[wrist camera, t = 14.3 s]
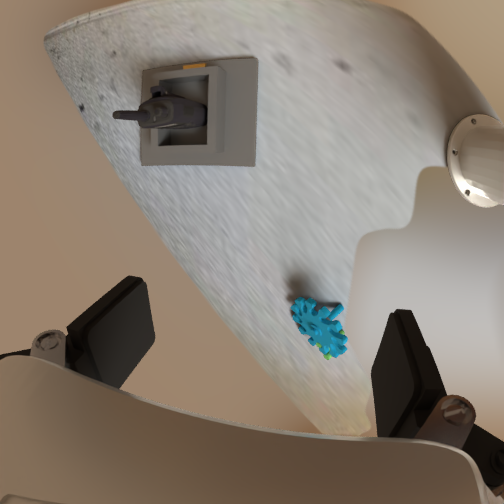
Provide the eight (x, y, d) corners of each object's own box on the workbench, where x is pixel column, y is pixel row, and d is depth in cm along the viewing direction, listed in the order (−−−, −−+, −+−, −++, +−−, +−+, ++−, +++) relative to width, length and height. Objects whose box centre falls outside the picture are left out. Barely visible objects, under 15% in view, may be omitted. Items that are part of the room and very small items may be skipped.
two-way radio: (174, 131, 36) (101, 133, 22) (172, 99, 34) (99, 87, 20) (214, 126, 34) (152, 122, 21) (212, 93, 33) (150, 71, 19)
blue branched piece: (279, 293, 40) (333, 318, 32) (309, 270, 43) (364, 288, 34) (299, 347, 45) (346, 375, 37) (324, 324, 47) (372, 347, 39)
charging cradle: (258, 60, 31) (250, 50, 27) (255, 165, 36) (247, 169, 32) (146, 71, 34) (128, 66, 30) (145, 165, 39) (127, 169, 35)
